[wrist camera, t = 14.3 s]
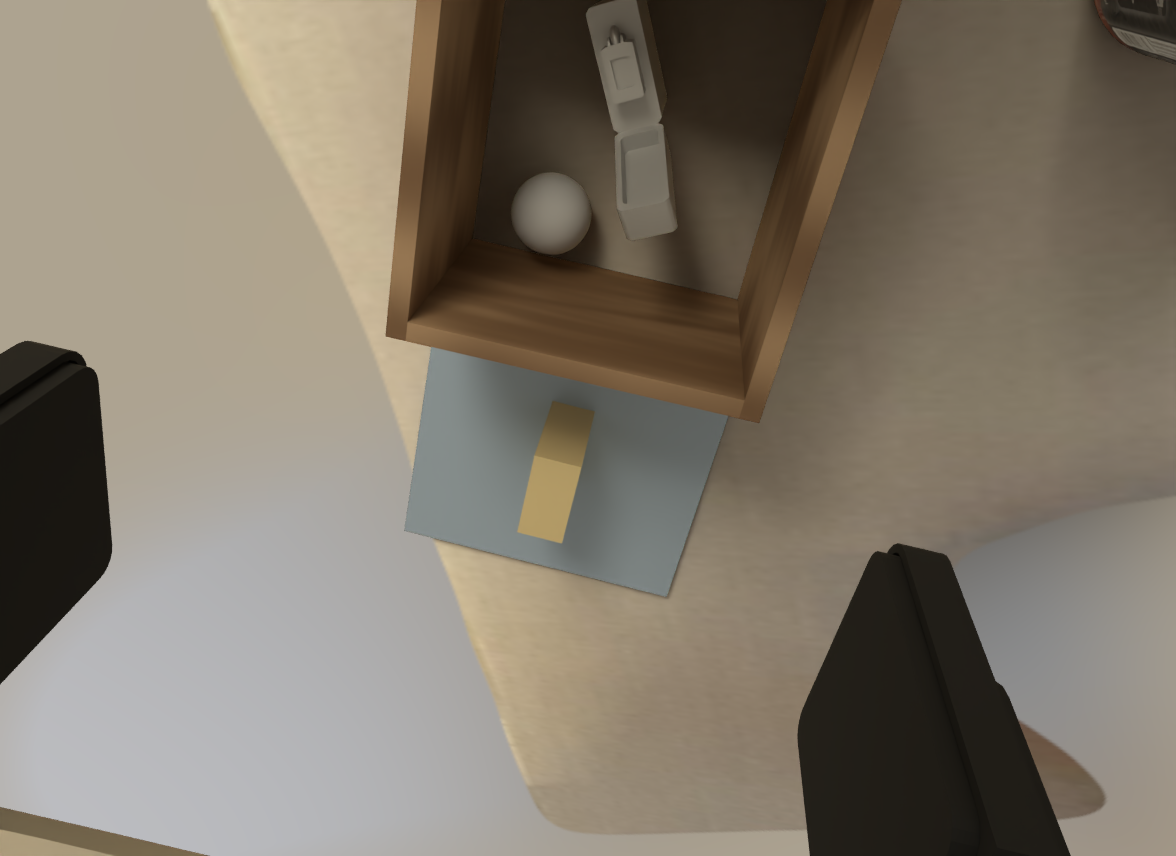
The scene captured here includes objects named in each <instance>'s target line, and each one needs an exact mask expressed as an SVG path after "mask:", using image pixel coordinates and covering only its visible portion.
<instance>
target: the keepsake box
mask: <svg viewBox="0 0 1176 856" xmlns="http://www.w3.org/2000/svg"><path fill="white" fill-rule="evenodd" d="M901 1H902V0H827V2H826V6H825V9H824V12H823V16H822V19H821V22H820V26H819V29H818V32H817V36H816V39H815V42H814V46H813V49H812V52H811V56H810V59H809V62H808V66H807V69H806V72H805V76H804V79H803V82H802V86H801V89H800V92H799V96H798V99H797V102H796V106H795V109H794V113H793V116H792V119H791V123H790V126H789V129H788V133H787V136H786V139H785V143H784V146H783V149H782V153H781V156H780V159H779V163H778V166H777V169H776V173H775V176H774V179H773V183H772V186H771V189H770V193H769V196H768V199H767V203H766V206H765V209H764V213H763V216H762V219H761V223H760V226H759V229H758V233H757V236H756V239H755V243H754V246H753V249H752V253H751V256H750V259H749V263H748V266H747V269H746V273H745V276H744V279H743V283H742V286H741V289H740V293H739V296H738V299H732V298H728V297H724V296H719V295H715V294H711V293H707V292H702V291H698V290H694V289H689V288H685V287H681V286H676V285H672V284H668V283H663V282H659V281H655V280H650V279H646V278H642V277H637V276H633V275H629V274H624V273H620V272H616V271H611V270H607V269H603V268H598V267H594V266H590V265H586V264H581V263H577V262H573V261H568V260H564V259H560V258H555V257H551V256H547V255H542V254H538V253H534V252H529V251H525V250H521V249H516V248H512V247H508V246H503V245H499V244H495V243H490V242H486V241H482V240H478V239H473V231H474V224H475V216H476V209H477V202H478V194H479V187H480V180H481V173H482V165H483V158H484V151H485V143H486V136H487V129H488V122H489V114H490V107H491V100H492V93H493V85H494V78H495V71H496V63H497V56H498V49H499V42H500V34H501V27H502V20H503V12H504V5H505V0H417V3H416V14H415V24H414V35H413V46H412V57H411V68H410V78H409V89H408V100H407V111H406V121H405V132H404V143H403V154H402V165H401V175H400V186H399V197H398V208H397V219H396V229H395V240H394V251H393V262H392V272H391V283H390V294H389V305H388V316H387V326H386V337H391V338H395V339H399V340H404V341H408V342H412V343H417V344H421V345H425V346H429V347H434V348H438V349H442V350H447V351H451V352H455V353H460V354H464V355H468V356H472V357H477V358H481V359H485V360H490V361H494V362H498V363H503V364H507V365H511V366H516V367H520V368H524V369H528V370H533V371H537V372H541V373H546V374H550V375H554V376H559V377H563V378H567V379H571V380H576V381H580V382H584V383H589V384H593V385H597V386H602V387H606V388H610V389H614V390H619V391H623V392H627V393H632V394H636V395H640V396H645V397H649V398H653V399H657V400H662V401H666V402H670V403H675V404H679V405H683V406H688V407H692V408H696V409H701V410H705V411H709V412H713V413H718V414H722V415H726V416H731V417H735V418H739V419H744V420H748V421H752V422H756V423H759V422H760V419H761V416H762V413H763V410H764V407H765V404H766V401H767V398H768V395H769V392H770V389H771V386H772V383H773V380H774V377H775V374H776V372H777V369H778V366H779V363H780V360H781V357H782V354H783V351H784V348H785V345H786V342H787V339H788V336H789V333H790V330H791V327H792V324H793V321H794V318H795V315H796V312H797V309H798V306H799V303H800V300H801V297H802V295H803V292H804V289H805V286H806V283H807V280H808V277H809V274H810V271H811V268H812V265H813V262H814V259H815V256H816V253H817V250H818V247H819V244H820V241H821V238H822V235H823V232H824V229H825V226H826V223H827V220H828V217H829V215H830V212H831V209H832V206H833V203H834V200H835V197H836V194H837V191H838V188H839V185H840V182H841V179H842V176H843V173H844V170H845V167H846V164H847V161H848V158H849V155H850V152H851V149H852V146H853V143H854V140H855V137H856V135H857V132H858V129H859V126H860V123H861V120H862V117H863V114H864V111H865V108H866V105H867V102H868V99H869V96H870V93H871V90H872V87H873V84H874V81H875V78H876V75H877V72H878V69H879V66H880V63H881V60H882V57H883V55H884V52H885V49H886V46H887V43H888V40H889V37H890V34H891V31H892V28H893V25H894V22H895V19H896V16H897V13H898V10H899V7H900V4H901Z"/></svg>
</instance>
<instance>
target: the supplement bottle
mask: <svg viewBox="0 0 1176 856" xmlns="http://www.w3.org/2000/svg"><path fill="white" fill-rule="evenodd" d="M1094 3H1095V6H1096V9H1097V11H1098V14H1099V17H1100V19H1101V20H1102V22H1103V24H1104V25H1105V27H1106V28H1107V29H1108V31H1109V32H1110V34H1111V35H1112V36H1113V37H1115V38H1116V39H1117V40H1118V41H1119V42H1120V43H1121V44H1123V45H1125V46H1127V47H1128V48H1130V49H1132V50H1135V51H1136V52H1139V53H1141V54H1144V55H1146V56H1151V57H1154V58H1157V59H1160V60H1164V61H1167V62H1170V63H1173V64H1176V0H1094Z"/></svg>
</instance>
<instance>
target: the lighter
mask: <svg viewBox="0 0 1176 856" xmlns="http://www.w3.org/2000/svg"><path fill="white" fill-rule="evenodd" d="M586 19H587V23H588V27H589V31H590V35H591V39H592V43H593V48H594V52H595V56H596V60H597V64H598V68H599V72H600V76H601V81H602V85H603V89H604V93H605V97H606V101H607V105H608V109H609V114H610V118H611V122H612V126H613V130H615V131H616V132H618V133H619V134H618V135H616V136H615V166H616V197H617V211H618V214H619V217H620V220H621V223H622V225H623V228H624V231H625V234H626V237H627V239H629V240H631V241H635V240H639V239H644V238H648V237H652V236H657V235H661V234H666V233H670V232H673V231H674V230H675V229H676V228H677V227H678V226H677V215H676V204H675V193H674V182H673V171H672V160H671V153H670V149H669V146H668V142H667V138H666V134H665V131H664V127H663V125H662V124H659V121H660V120H661V118H662V115H663V111H664V108H665V104H666V101H667V93H666V89H665V84H664V79H663V75H662V70H661V65H660V61H659V56H658V51H657V46H656V42H655V37H654V32H653V28H652V23H651V18H650V14H649V9H648V4H647V0H601V1H599V2H598V3H596V4H595V5H593V6H591V7H590V8H589V9H588V11H587V13H586Z"/></svg>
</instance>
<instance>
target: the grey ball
mask: <svg viewBox="0 0 1176 856" xmlns="http://www.w3.org/2000/svg"><path fill="white" fill-rule="evenodd" d="M511 218H512V224H513V227H514V229H515V232H516V234H517V235H518V237H519V238H520V239H521V241H522V242H523V243H524V244H525V245H526V246H528V247H529V248H531V249H532V250H534V251H536V252H539V253H542V254H548V255H555V254H561V253H565V252H567V251H569V250H571V249H573V248H574V247H576V246H577V245H578V244H579V243H580V242H581V241H582V240H583V238H584V237H585V235H586V234H587V232H588V229H589V226H590V223H591V205H590V201H589V199H588V196H587V194H586V192H585V191H584V189H583V188H582V187H581V186H580V184H579V183H578V182H576V181H575V180H574V179H572V178H571V177H569V176H566V175H564V174H561V173H555V172H548V173H542V174H538V175H535V176H533V177H532V178H530V179H528V180H527V181H526V182H525V183H524V184H523V185H522V186H521V187H520V188H519V189H518V191H517V193H516V195H515V197H514V199H513V203H512V208H511Z"/></svg>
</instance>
